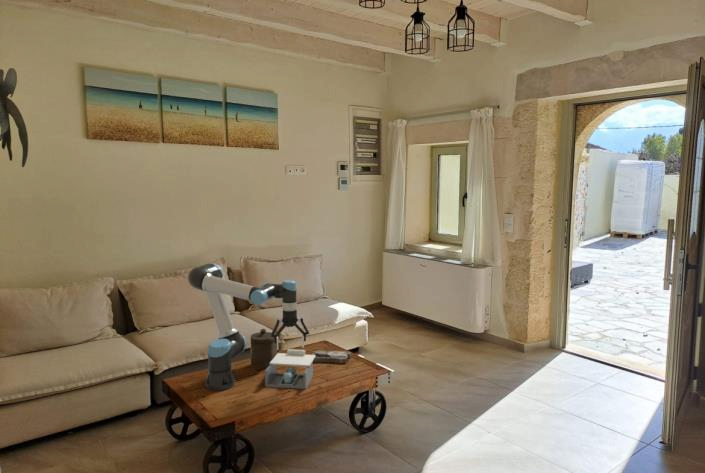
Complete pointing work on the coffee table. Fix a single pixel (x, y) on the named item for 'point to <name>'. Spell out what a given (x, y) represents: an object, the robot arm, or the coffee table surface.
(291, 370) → the jaw peg seated
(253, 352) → the wooden container
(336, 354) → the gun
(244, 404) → the coffee table surface
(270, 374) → the housing
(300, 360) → the lid
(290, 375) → the peg
